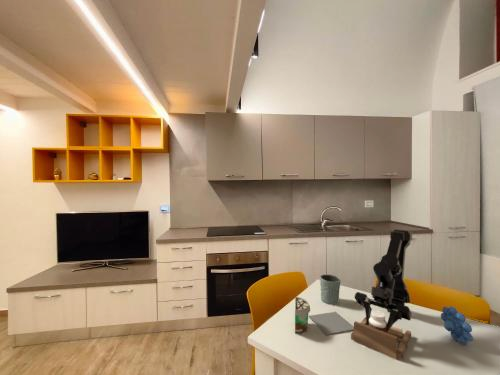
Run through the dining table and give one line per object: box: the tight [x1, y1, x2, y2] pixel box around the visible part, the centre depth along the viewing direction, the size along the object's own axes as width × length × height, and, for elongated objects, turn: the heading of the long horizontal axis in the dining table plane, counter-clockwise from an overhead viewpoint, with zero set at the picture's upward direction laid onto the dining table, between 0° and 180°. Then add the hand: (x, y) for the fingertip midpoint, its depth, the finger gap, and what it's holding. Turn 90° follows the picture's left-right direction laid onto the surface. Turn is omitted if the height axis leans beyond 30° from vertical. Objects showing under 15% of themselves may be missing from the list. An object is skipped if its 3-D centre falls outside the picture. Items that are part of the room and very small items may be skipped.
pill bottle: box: [368, 310, 388, 333], centre depth 89 cm, size 6×6×11 cm
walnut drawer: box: [350, 316, 412, 361], centre depth 92 cm, size 18×16×7 cm
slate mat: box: [308, 311, 354, 336], centre depth 102 cm, size 14×14×1 cm
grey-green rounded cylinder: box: [319, 273, 342, 306], centre depth 122 cm, size 10×10×12 cm
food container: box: [294, 296, 311, 335], centre depth 99 cm, size 12×6×10 cm, turn 168°
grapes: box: [440, 306, 474, 345], centre depth 91 cm, size 12×7×12 cm, turn 9°
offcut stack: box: [387, 325, 405, 343], centre depth 96 cm, size 6×12×2 cm, turn 50°
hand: (376, 327), depth 88 cm, fingers closed on pill bottle, 6 cm apart
